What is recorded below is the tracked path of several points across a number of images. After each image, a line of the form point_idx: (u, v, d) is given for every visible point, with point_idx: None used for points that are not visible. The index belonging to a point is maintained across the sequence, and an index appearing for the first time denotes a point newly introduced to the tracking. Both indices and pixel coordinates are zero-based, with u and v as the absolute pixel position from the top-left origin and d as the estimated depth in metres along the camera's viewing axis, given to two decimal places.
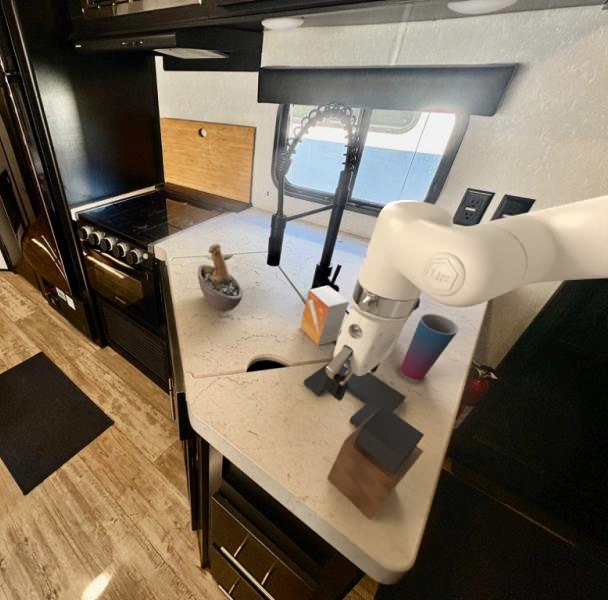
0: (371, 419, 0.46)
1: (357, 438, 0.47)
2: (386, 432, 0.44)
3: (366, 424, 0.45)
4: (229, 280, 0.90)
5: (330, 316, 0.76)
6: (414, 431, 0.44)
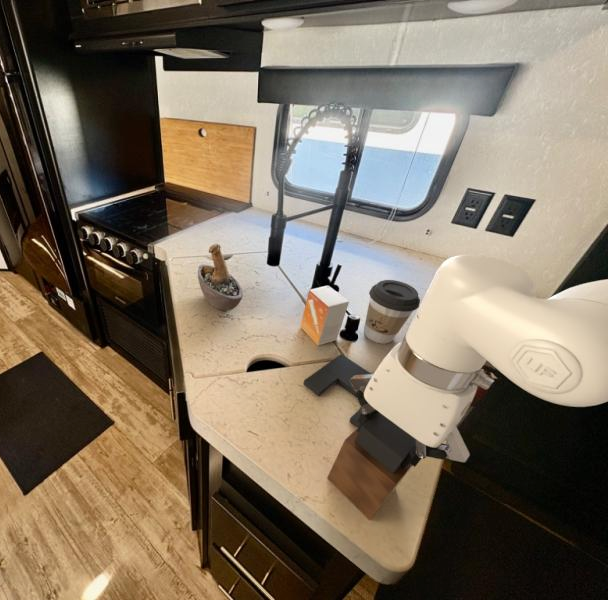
0: (371, 419, 0.46)
1: (357, 438, 0.47)
2: (386, 432, 0.44)
3: (366, 424, 0.45)
4: (229, 280, 0.90)
5: (330, 316, 0.76)
6: None
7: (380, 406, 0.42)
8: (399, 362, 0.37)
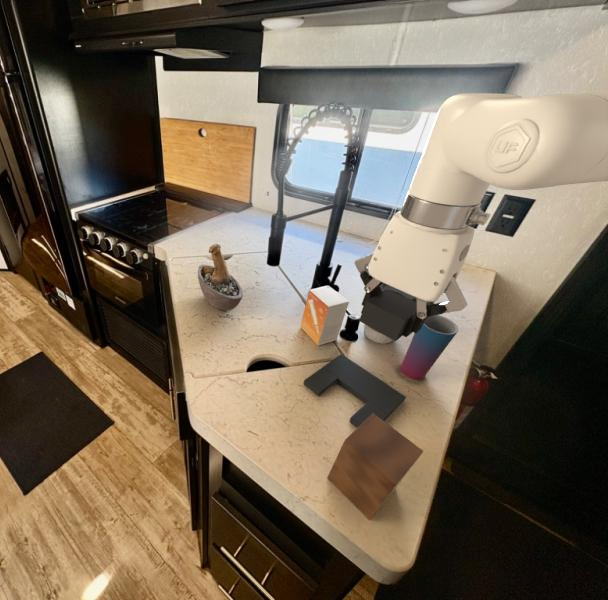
0: (375, 296, 0.49)
1: (361, 316, 0.49)
2: (389, 304, 0.47)
3: (370, 300, 0.48)
4: (229, 280, 0.90)
5: (330, 316, 0.76)
6: (415, 304, 0.47)
7: (384, 274, 0.45)
8: (402, 216, 0.40)
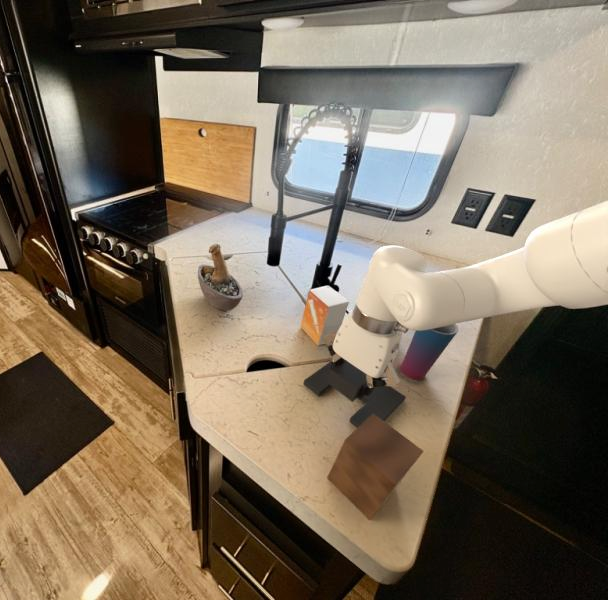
0: (338, 365, 0.64)
1: (328, 379, 0.65)
2: (348, 373, 0.62)
3: (334, 368, 0.63)
4: (229, 280, 0.90)
5: (330, 316, 0.76)
6: None
7: (343, 353, 0.60)
8: (352, 319, 0.55)
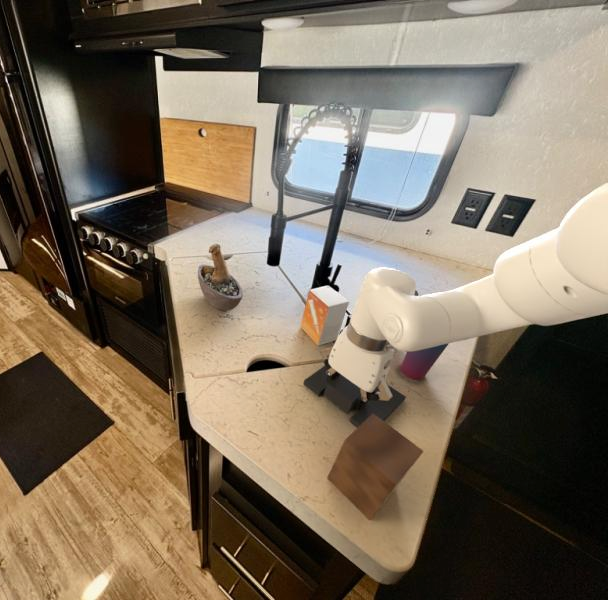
0: (334, 378, 0.66)
1: (324, 392, 0.67)
2: (343, 386, 0.64)
3: (330, 382, 0.65)
4: (229, 280, 0.90)
5: (330, 316, 0.76)
6: None
7: (338, 367, 0.62)
8: (346, 335, 0.57)
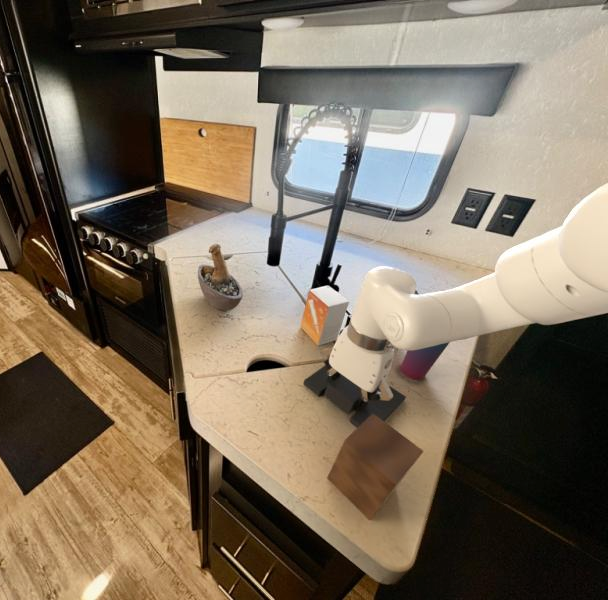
0: (335, 379, 0.66)
1: (325, 392, 0.67)
2: (344, 387, 0.64)
3: (331, 382, 0.65)
4: (229, 280, 0.90)
5: (330, 316, 0.76)
6: None
7: (338, 367, 0.62)
8: (347, 335, 0.57)
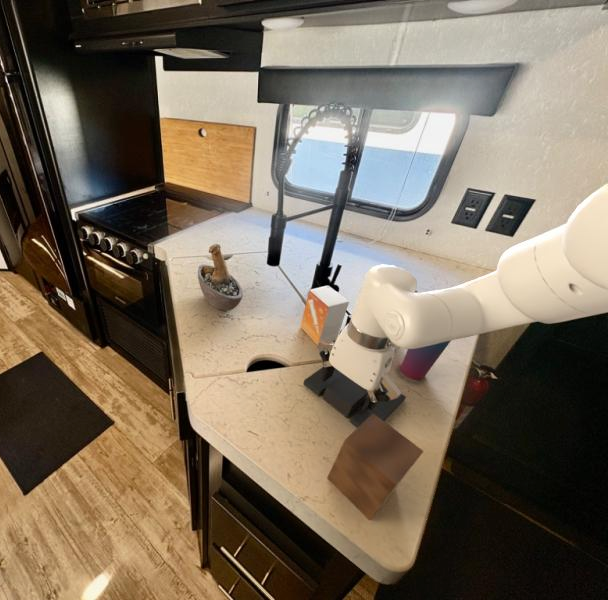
0: (333, 382, 0.67)
1: (324, 396, 0.67)
2: (343, 390, 0.65)
3: (329, 385, 0.66)
4: (229, 280, 0.90)
5: (330, 316, 0.76)
6: (362, 390, 0.65)
7: (339, 366, 0.62)
8: (347, 334, 0.57)
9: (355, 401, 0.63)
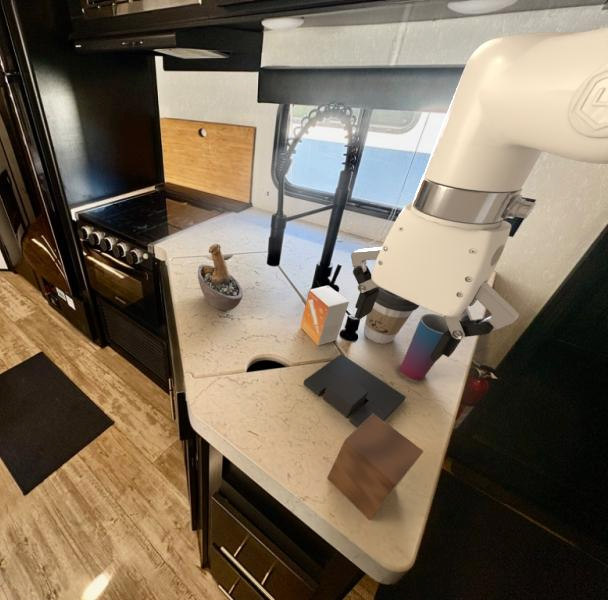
0: (333, 382, 0.67)
1: (324, 396, 0.67)
2: (343, 390, 0.65)
3: (329, 385, 0.66)
4: (229, 280, 0.90)
5: (330, 316, 0.76)
6: (362, 390, 0.65)
7: (391, 281, 0.36)
8: (415, 208, 0.31)
9: (355, 401, 0.63)
